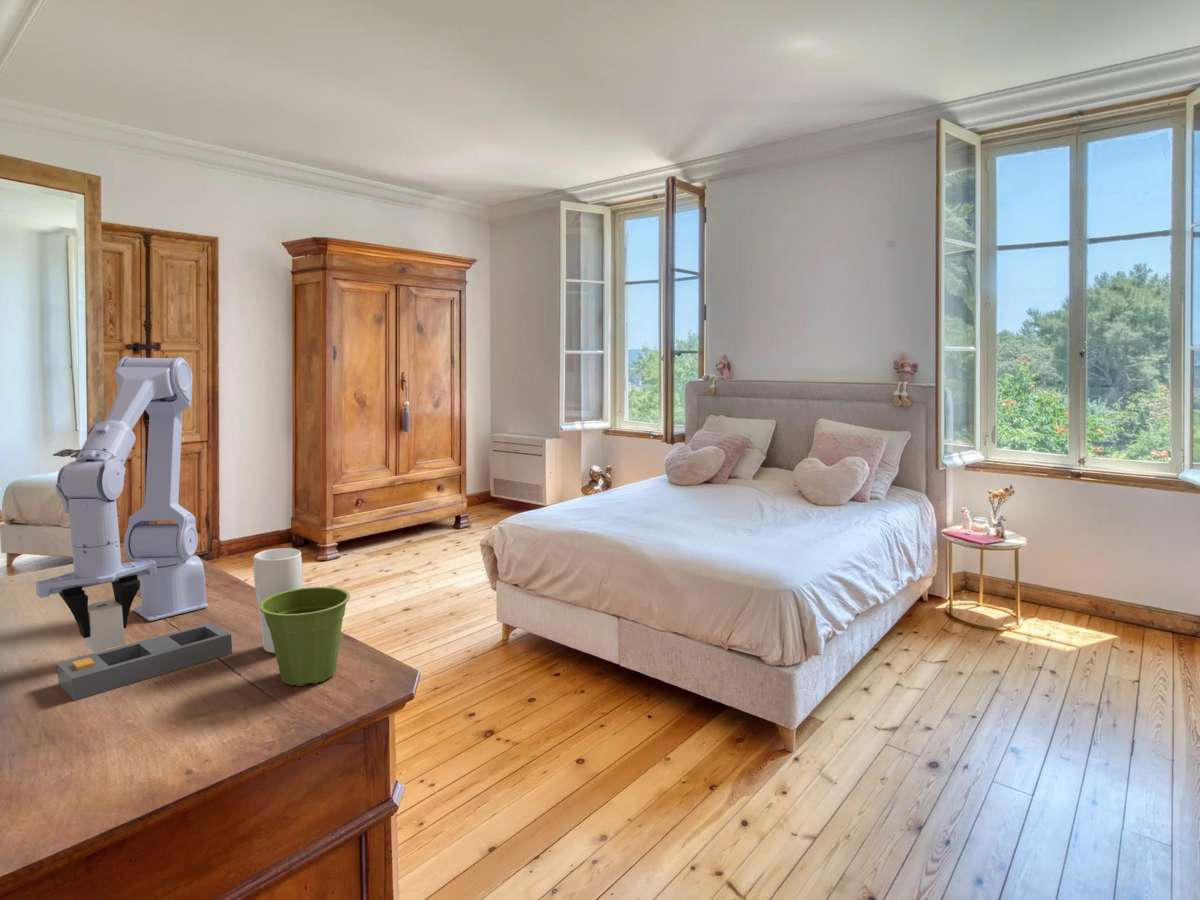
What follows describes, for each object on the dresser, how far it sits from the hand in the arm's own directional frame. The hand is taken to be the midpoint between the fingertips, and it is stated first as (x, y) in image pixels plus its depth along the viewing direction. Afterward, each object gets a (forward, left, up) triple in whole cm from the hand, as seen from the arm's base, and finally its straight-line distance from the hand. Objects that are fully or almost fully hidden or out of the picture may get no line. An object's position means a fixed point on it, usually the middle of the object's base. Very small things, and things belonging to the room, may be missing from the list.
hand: (103, 631), depth 106 cm
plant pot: (-17, +28, -4) cm, 33 cm away
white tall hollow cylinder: (-19, +16, -4) cm, 25 cm away
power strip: (-3, +9, -4) cm, 10 cm away
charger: (0, 0, -2) cm, 2 cm away
